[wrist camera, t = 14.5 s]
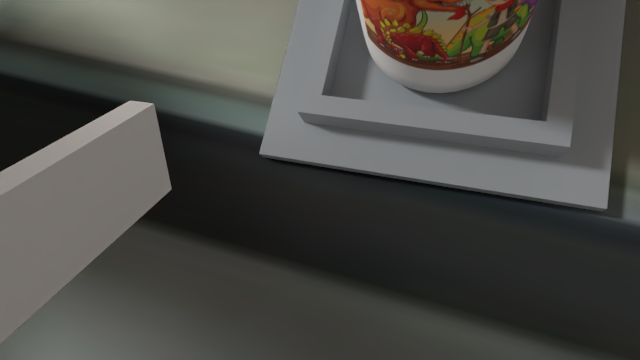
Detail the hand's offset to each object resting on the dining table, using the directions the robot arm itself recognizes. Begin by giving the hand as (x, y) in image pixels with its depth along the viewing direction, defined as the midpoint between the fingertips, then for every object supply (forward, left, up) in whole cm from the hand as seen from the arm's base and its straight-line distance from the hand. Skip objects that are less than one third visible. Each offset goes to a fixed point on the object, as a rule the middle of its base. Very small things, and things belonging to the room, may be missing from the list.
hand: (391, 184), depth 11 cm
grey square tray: (0, +11, -11) cm, 15 cm away
